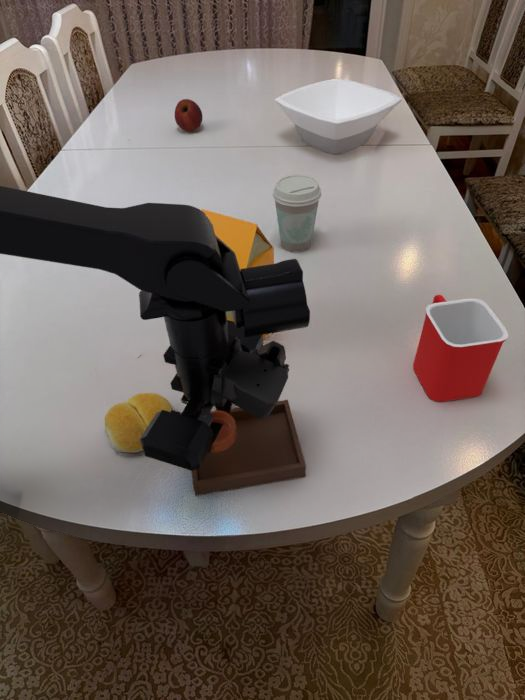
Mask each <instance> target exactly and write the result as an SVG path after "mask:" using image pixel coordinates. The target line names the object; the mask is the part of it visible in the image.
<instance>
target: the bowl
mask: <svg viewBox="0 0 525 700" xmlns="http://www.w3.org/2000/svg"><path fill="white" fill-rule="evenodd" d="M274 101H275V103H276V104H277V105H278V106H279V108H280V110H282V112H283V113H284V114H285V115H286V116H287V117H288V118H289V120H290V121H291V122H292V123H293V124H294V126H295V129H296V131H297V134H298V137H299V139H300V140H301V141H302V142H303V143H305V145H308V146H310V147H312V148H315V149H316V150H319V151H322V152H324V153H327V154H331V155H339V154H342V153H343V154H344V153H346V152H349V151H352V150H355V149H358V148H359V147H361V146H363V145H365V144H366V143H368V142H369V141H370V140H371V138H372V136H373V135H374V132H375V131H376V129H377V128H378V125H379V124H380V123H381V122H382V121H383V120H384V119H385V118H386V117H388V115H389V114H390V113H391V112H392V111H393V110H394V109H395V108H396V107H397V106H398V105H399V104H400V103H401V102H402V98H401V97H400V96H399V95H396V94H394V93H392V92H390V91H388V90H384V89H381V88H378V87H375V86H371V85H369V84H365V83H362V82H359V81H354V80H350V79H345V78H339V77H338V78H337V77H336V78H331V79H328V80H327V79H325V80H321V81H318V82H315V83H311V84H307V85H303V86H301V87H297V88H296V89H295V88H294V89H292V90H290V91H287V92H286V93H284V94H282V95H280V96H278V97H276V98H275V99H274Z"/></svg>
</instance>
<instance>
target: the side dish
mask: <svg viewBox="0 0 525 700" xmlns="http://www.w3.org/2000/svg"><path fill="white" fill-rule="evenodd" d="M210 413H211V414H212V415H213V422H216V423H220V424H223V426H222V428H221V430H220V432H219V434H218V436H217V438H216V440H215V441H214V443H213V444H212V449H211V451H210V452H213V453H216V452H222V451H224V450H226V449H228V448H230V447H231V446H232V444H233V443H234V442H235V439H236V436H237V432H236V425H235V420H234V418H233V417H232V416H231V415H230V414H228V413H227V412H225V411H220V410H216V409H214V410H211V412H210Z"/></svg>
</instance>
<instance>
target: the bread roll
mask: <svg viewBox="0 0 525 700" xmlns="http://www.w3.org/2000/svg"><path fill="white" fill-rule="evenodd" d="M161 410H165V411H169V412H170V411H171V410H174V411H175V409H174V407H173V406H172V404H171V403H170V401H169V400H168V399H167V398H166V397H164V396H163V395H160V394H158V393H153V392H141V393H136V394H134V395H132V396H131V397H129V398H128V399H127V400H124V401H123V402H119V403H115V404H114V405H113V406H112V407H110V408H109V409H108V410H107V412H106V414H105V416H104V433H105V435H106V437H107V439H108V442H109V444H110V446H112V448H113V450H114V451H116V452H120V453H129V454H130V453H131V454H135V453H140V452H142V451H143V448H142V445H141V442H140V438H141V436H142V435H143V433H144V432H145V430H146V429H147V427H148V425H149V424H150V422H151V421H152V419H153V418H154V416H155V414H156V413H158V412H159V411H161Z"/></svg>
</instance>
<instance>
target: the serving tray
mask: <svg viewBox="0 0 525 700" xmlns="http://www.w3.org/2000/svg"><path fill="white" fill-rule="evenodd" d="M230 415H231V416H232V417H233V418H234V420H235V425H236V432H237V436H236V439H235V442H234V443H233V444H232V446H231V447H230V448H228V449H226V450H224V451H222V452H216V453H213V452H208V453H207V455H206V457H205V459H204V461H203V463H202V465H201V467H200V468H198V469H196V470H194V471H191V481H192V482H191V483H192V488H193V492H194V495H195V496H197V497H198V496H203V495H210V494H214V493H219V492H226V491H231V490H237V489H243V488H249V487H255V486H259V485H265V484H272V483H277V482H283V481H289V480H293V479H294V480H295V479H300V478H306V476H307V475H306V471H307V465H306V461H305V458H304V454H303V451H302V446H301V443H300V439H299V436H298V432H297V429H296V425H295V421H294V417H293V413H292V410H291V406H290V403H289V399H284V400H278V401H277V403H276V405H275V406H274V408H273V410H272V411H271V413H270V415H269V416H268V417H267V418H265V419H259V418H257V417H255V416H253V414H251V413H249V412H247V411H245V410H243V409H241V408H239V407H233V408H231V410H230Z"/></svg>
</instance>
